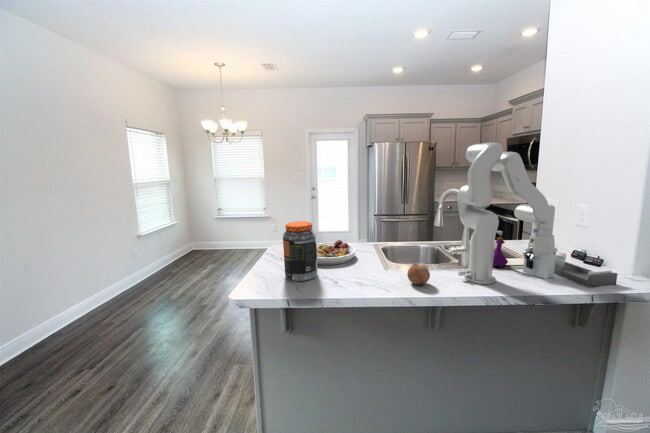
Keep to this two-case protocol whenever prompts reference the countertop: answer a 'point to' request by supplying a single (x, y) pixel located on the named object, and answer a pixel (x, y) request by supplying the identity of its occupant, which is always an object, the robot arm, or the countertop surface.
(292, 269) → the supplement tub
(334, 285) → the countertop surface
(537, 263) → the skincare box
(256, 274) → the countertop surface
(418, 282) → the onion
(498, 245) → the perfume bottle
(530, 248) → the robot arm
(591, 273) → the pusher
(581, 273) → the grey shallow rectangular tray
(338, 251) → the bowl
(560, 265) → the cream jar
